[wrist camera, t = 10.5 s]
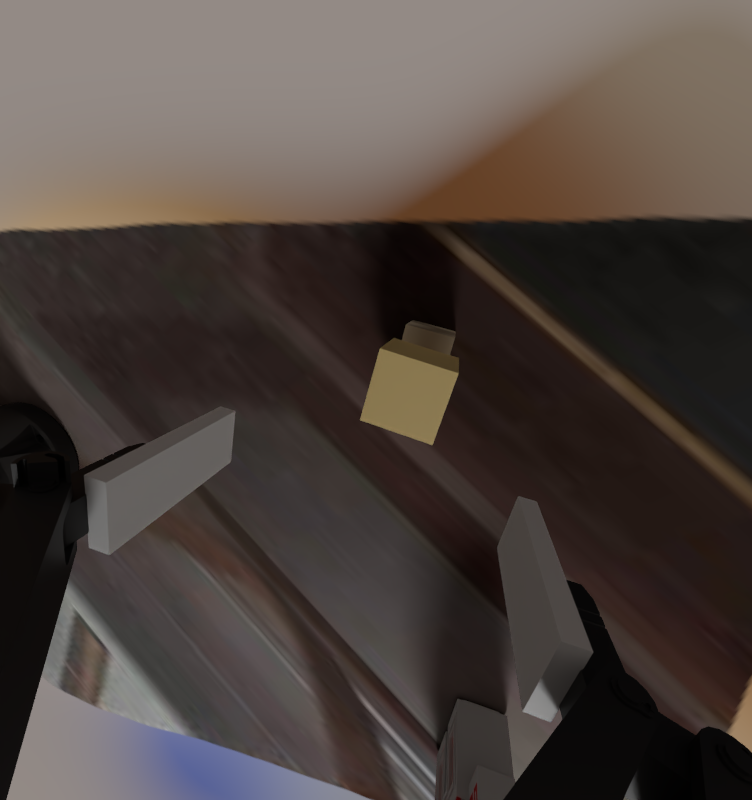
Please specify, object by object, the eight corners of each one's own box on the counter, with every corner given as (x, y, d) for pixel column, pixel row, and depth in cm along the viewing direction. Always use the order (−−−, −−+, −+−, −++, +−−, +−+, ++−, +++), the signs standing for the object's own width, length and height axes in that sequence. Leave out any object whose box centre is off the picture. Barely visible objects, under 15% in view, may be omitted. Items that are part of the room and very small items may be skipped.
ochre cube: (376, 398, 34) (360, 420, 29) (393, 337, 32) (379, 348, 27) (437, 418, 33) (432, 445, 28) (458, 358, 31) (458, 373, 26)
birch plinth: (391, 401, 39) (381, 416, 35) (413, 319, 36) (405, 324, 32) (430, 413, 39) (426, 430, 34) (455, 331, 36) (454, 337, 31)
